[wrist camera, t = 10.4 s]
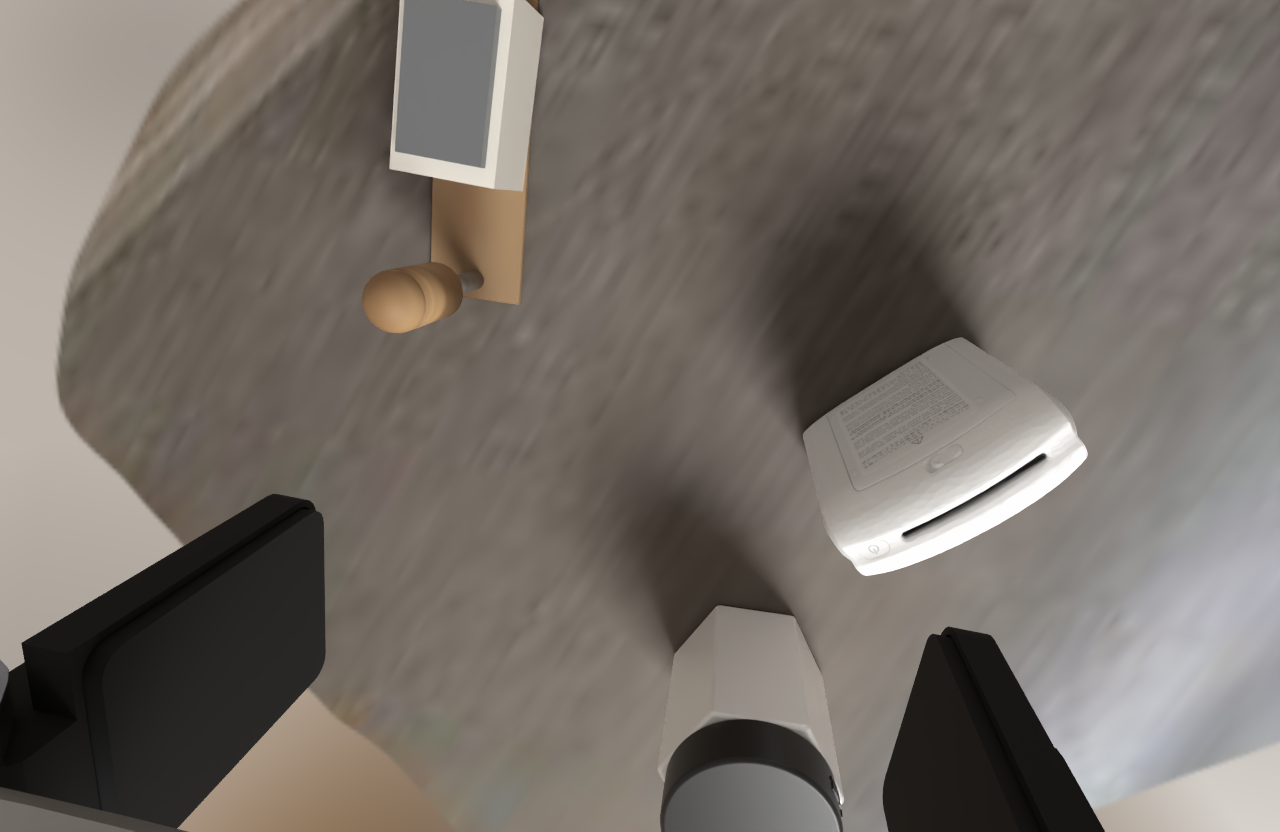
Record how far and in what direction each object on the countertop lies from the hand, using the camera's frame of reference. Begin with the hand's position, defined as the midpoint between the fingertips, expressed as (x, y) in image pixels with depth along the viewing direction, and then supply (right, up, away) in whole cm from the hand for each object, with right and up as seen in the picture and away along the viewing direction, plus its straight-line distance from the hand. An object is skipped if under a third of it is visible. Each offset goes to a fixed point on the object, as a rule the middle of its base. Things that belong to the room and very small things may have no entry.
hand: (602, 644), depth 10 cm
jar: (+7, -12, +32) cm, 35 cm away
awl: (-8, +11, +27) cm, 30 cm away
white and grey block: (-7, +19, +24) cm, 32 cm away
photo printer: (+14, +4, +26) cm, 30 cm away
